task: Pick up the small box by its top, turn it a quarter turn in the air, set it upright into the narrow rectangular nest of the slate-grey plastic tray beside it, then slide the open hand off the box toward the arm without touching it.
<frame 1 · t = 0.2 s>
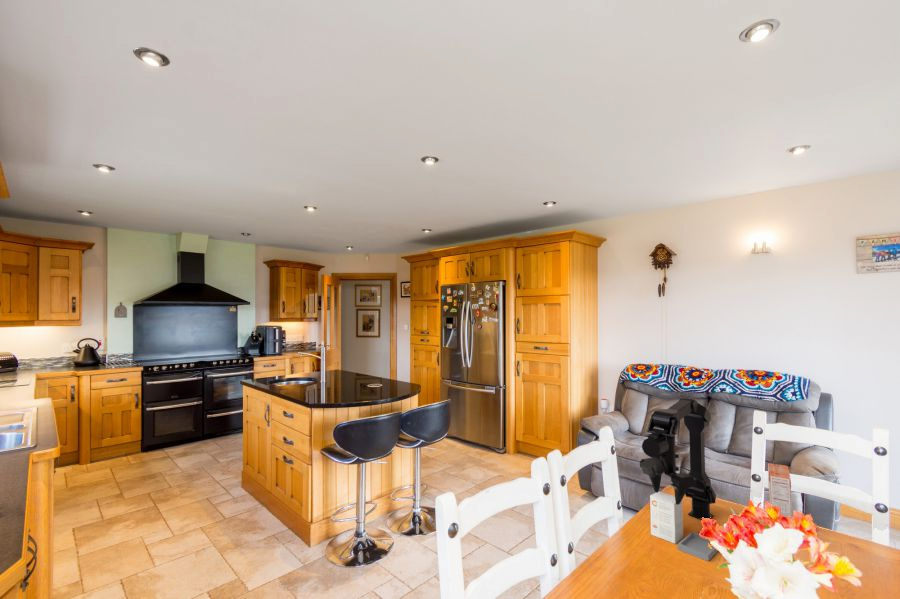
hand: (666, 498, 140), 14 cm above the table, tool pointing down, fingers open, 9 cm apart
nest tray: (699, 548, 135), on the table
cracker box: (780, 532, 145), on the table
small box: (666, 536, 143), on the table
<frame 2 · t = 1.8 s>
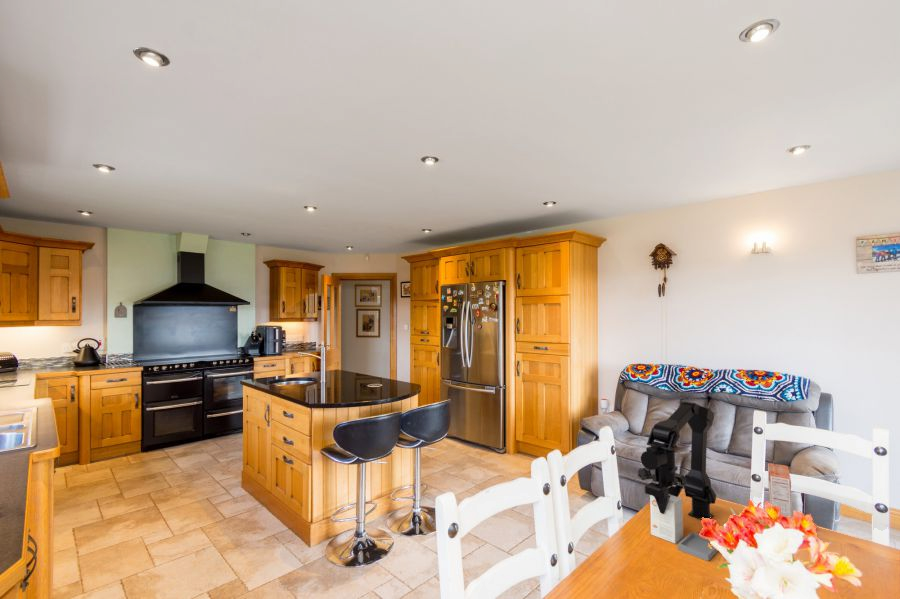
hand: (666, 510, 143), 9 cm above the table, tool pointing down, fingers closed on small box, 6 cm apart
small box: (666, 536, 143), on the table, touching gripper
everything else where it was.
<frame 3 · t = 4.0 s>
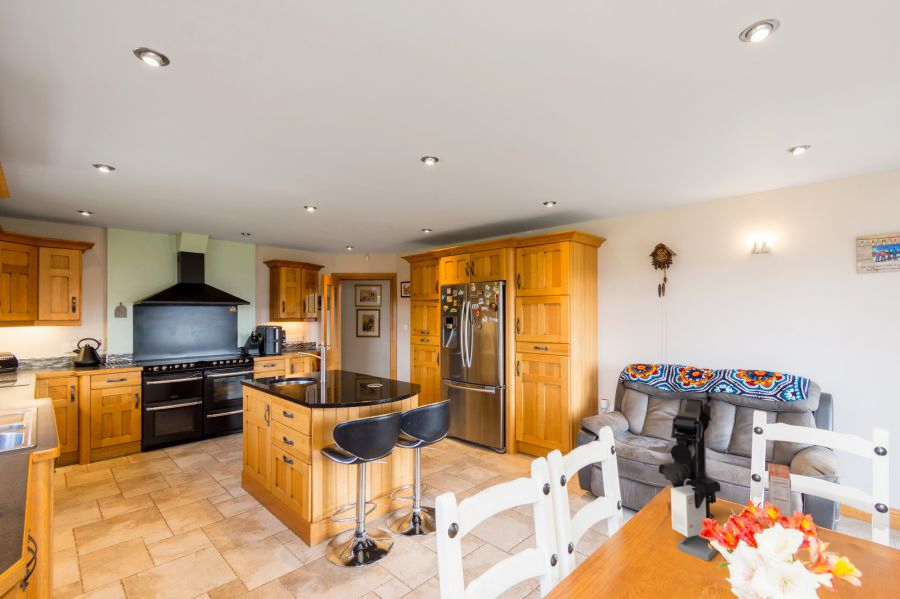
hand: (688, 503, 138), 13 cm above the table, tool pointing down, fingers closed on small box, 6 cm apart
small box: (688, 531, 138), point 4 cm above the table, touching gripper
everything else where it was.
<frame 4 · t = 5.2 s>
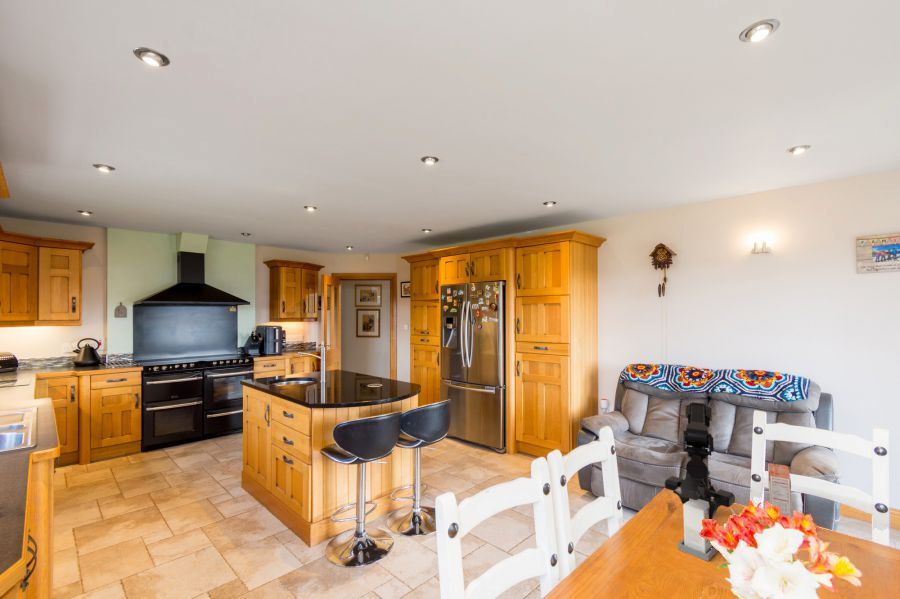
hand: (698, 517, 136), 10 cm above the table, tool pointing down, fingers closed on small box, 6 cm apart
small box: (699, 545, 135), point 1 cm above the table, touching gripper
everything else where it was.
when the fingers open (9 cm above the table, at t = 6.1 s): small box stays where it is, resting on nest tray.
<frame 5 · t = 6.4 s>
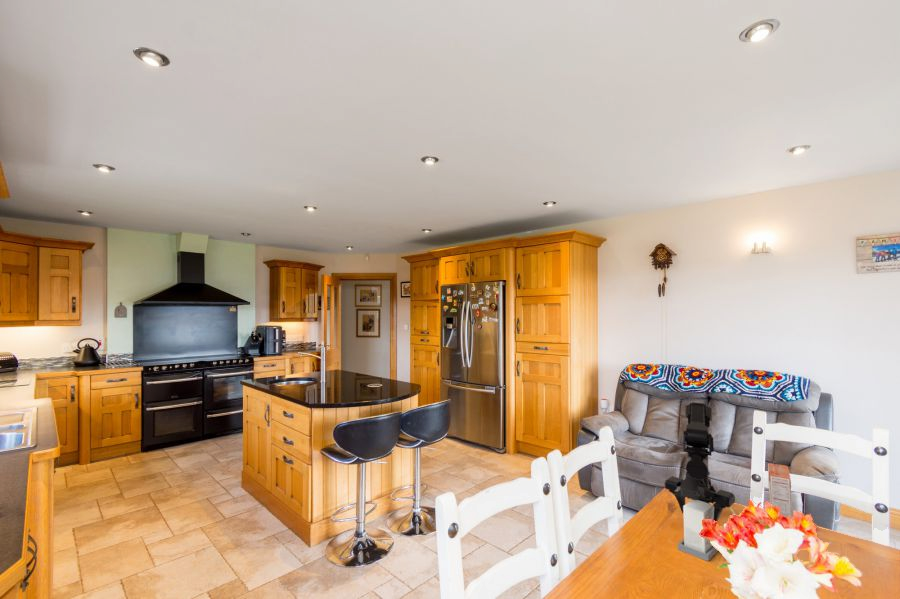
hand: (698, 518, 135), 9 cm above the table, tool pointing down, fingers open, 9 cm apart
small box: (699, 547, 135), resting on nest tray
everything else where it was.
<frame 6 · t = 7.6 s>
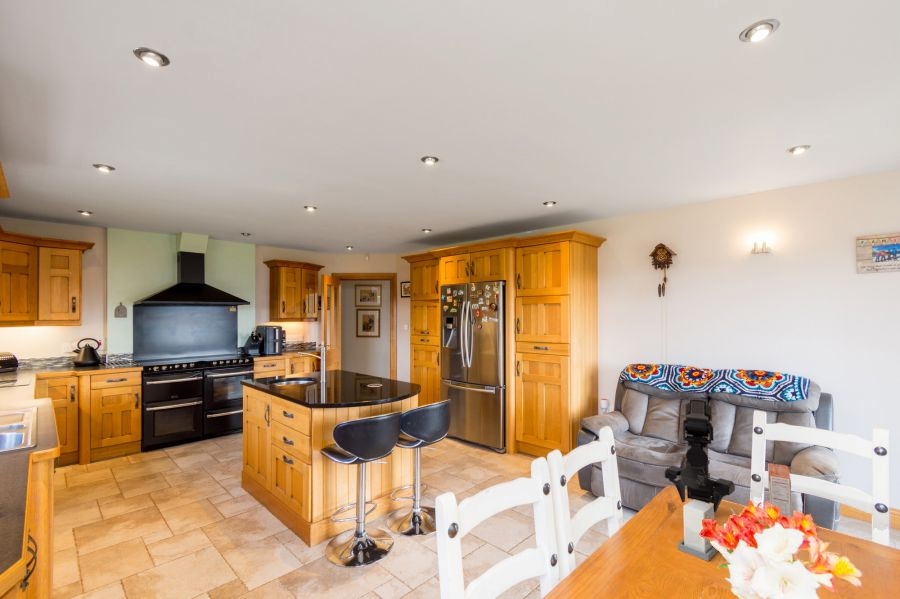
hand: (698, 506, 136), 13 cm above the table, tool pointing down, fingers open, 9 cm apart
nothing on the table moved.
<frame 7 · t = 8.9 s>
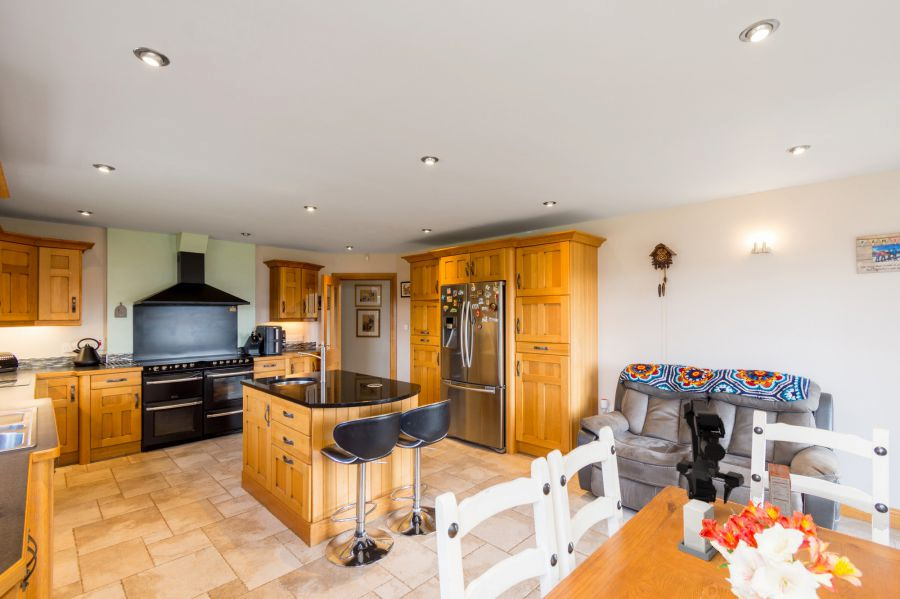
hand: (709, 498, 142), 13 cm above the table, tool pointing down, fingers open, 9 cm apart
nothing on the table moved.
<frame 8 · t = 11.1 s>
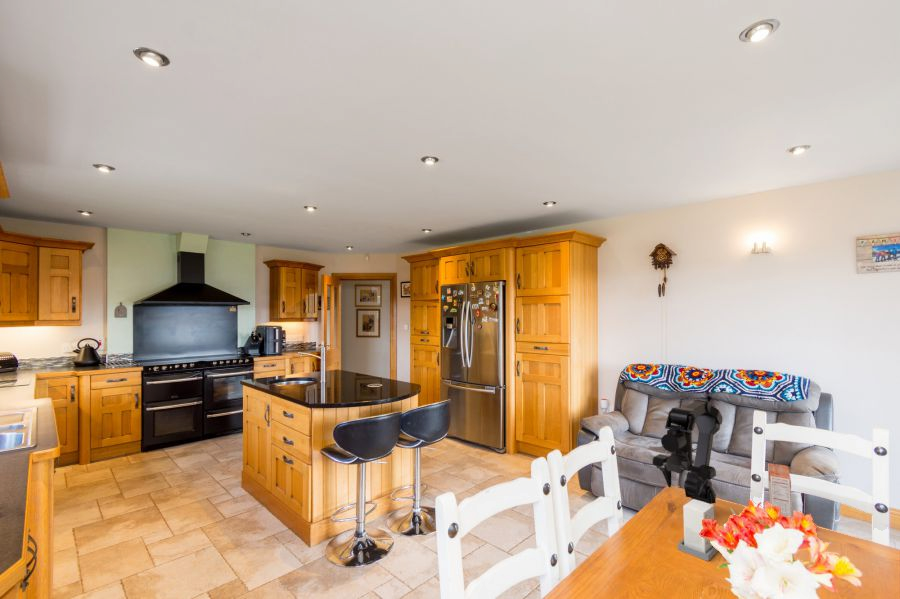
hand: (683, 491, 147), 13 cm above the table, tool pointing down, fingers open, 9 cm apart
nothing on the table moved.
at the end: small box 0.1 cm off-centre on the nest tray, point 0.3 cm above the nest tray's base; small box tilted 0°; the gripper is holding nothing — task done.
